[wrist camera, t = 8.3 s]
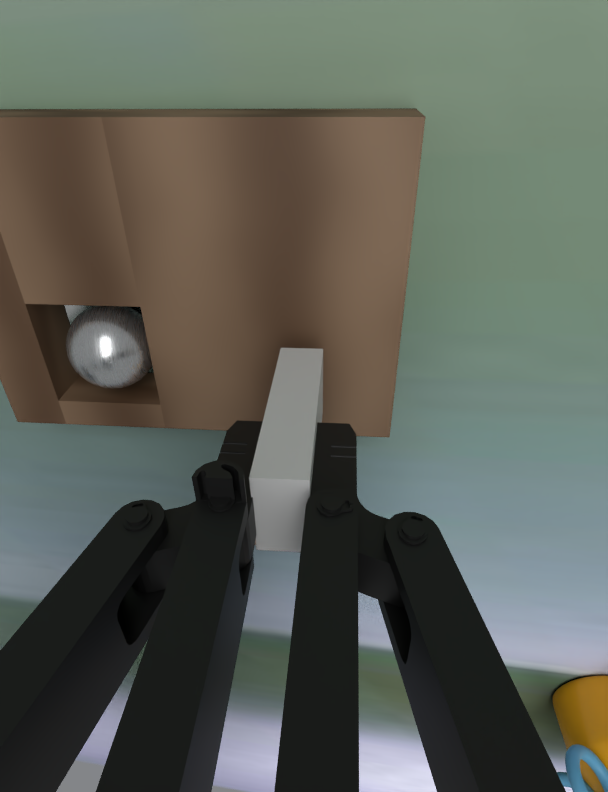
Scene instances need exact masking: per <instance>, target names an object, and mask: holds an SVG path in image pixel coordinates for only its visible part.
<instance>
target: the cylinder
mask: <svg viewBox="0 0 608 792" xmlns="http://www.w3.org/2000/svg"><path fill="white" fill-rule="evenodd" d="M553 706H554V710H555V713H556V716H557V719H558V723H559V726H560V729H561V732H562V736H563V739H564V742H565V745H566V749H567V752H566V758H565V763H566V771H567V773H566V772H557V774H558V776H559V778H560V780H561V783H562V785H563V786H565V787H571V788H572V790H573V792H608V676H590V677H584V678H580V679H576V680H573V681H570V682H568V683H566V684H564V685H562V686H561V687H559V688H558V689H557V690H556V691H555V693H554V695H553Z"/></svg>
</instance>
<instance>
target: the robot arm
mask: <svg viewBox="0 0 608 792" xmlns="http://www.w3.org/2000/svg"><path fill="white" fill-rule="evenodd" d="M322 415H323V349H313V348H281V349H280V353H279V357H278V361H277V365H276V369H275V373H274V378H273V382H272V386H271V390H270V394H269V398H268V402H267V406H266V410H265V414H264V418H263V421H239V420H237V421H236V422H235V423H234V424H233V425H232V426H231V427H230V428H229V429H228V430H227V433H226V436H225V439H224V442H223V445H222V448H221V451H220V454H219V457H218V460H217V461H213V462H210V463H207V464H204V465H203V466H201V467H200V468H199V469H197V470H196V471H195V473H194V474H193V476H192V481H193V486H194V491H195V496H196V501H195V502H193V503H191V504H189V505H186V506H182V507H178V508H173V509H169V510H164V509H163V508H162V507H161V505H160V504H159V503H156V502H154V501H152V500H139V501H134V502H131V503H129V504H127V505H125V506H123V507H122V508H121V509H119V510H118V511H117V512H116V513H115V514H114V515H113V517H112V518H111V519H110V520H109V521H108V523H107V524H106V525H105V526H104V527H103V529H102V530H101V531H100V532H99V533H98V534H97V536H96V537H95V538H94V539H93V540H92V542H91V543H90V544H89V545H88V546H87V548H86V549H85V550H84V551H83V552H82V554H81V555H80V556H79V557H78V558H77V560H76V561H75V562H74V563H73V564H72V566H71V567H70V568H69V569H68V570H67V572H66V573H65V574H64V575H63V576H62V578H61V579H60V580H59V581H58V582H57V584H56V585H55V586H54V587H53V588H52V590H51V591H50V592H49V593H48V594H47V596H46V597H45V598H44V599H43V600H42V602H41V603H40V604H39V605H38V606H37V607H36V609H35V610H34V611H33V612H32V613H31V615H30V616H29V617H28V618H27V619H26V621H25V622H24V623H23V624H22V625H21V627H20V628H19V629H18V630H17V631H16V633H15V634H14V635H13V636H12V637H11V639H10V640H9V641H8V642H7V643H6V645H5V646H4V647H3V648H2V649H1V651H0V792H56V791H57V789H58V787H59V786H60V784H61V782H62V781H63V779H64V777H65V776H66V774H67V772H68V770H69V769H70V767H71V766H72V764H73V762H74V761H75V759H76V757H77V756H78V754H79V753H80V751H81V749H82V748H83V746H84V744H85V743H86V741H87V739H88V738H89V736H90V734H91V733H92V731H93V729H94V728H95V726H96V724H97V723H98V721H99V719H100V718H101V716H102V714H103V713H104V711H105V709H106V708H107V706H108V704H109V703H110V701H111V700H112V698H113V696H114V695H115V693H116V691H117V690H118V688H119V686H120V685H121V683H122V681H123V680H124V678H125V676H126V675H127V673H128V671H129V670H130V668H131V666H132V665H133V663H134V661H135V660H136V658H137V656H138V655H139V653H140V652H141V650H142V648H143V647H144V645H145V643H146V642H147V640H148V642H147V645H146V648H145V650H144V653H143V656H142V659H141V662H140V665H139V668H138V671H137V674H136V677H135V679H134V682H133V685H132V688H131V691H130V694H129V697H128V700H127V703H126V706H125V709H124V711H123V714H122V717H121V720H120V723H119V726H118V729H117V732H116V735H115V738H114V740H113V743H112V746H111V749H110V752H109V755H108V758H107V761H106V764H105V767H104V769H103V772H102V775H101V778H100V781H99V784H98V787H97V790H96V792H211V790H212V785H213V780H214V775H215V769H216V764H217V759H218V753H219V748H220V743H221V738H222V732H223V727H224V722H225V717H226V711H227V706H228V701H229V695H230V690H231V685H232V680H233V674H234V669H235V664H236V659H237V653H238V648H239V643H240V637H241V632H242V627H243V622H244V616H245V611H246V606H247V601H248V595H249V590H250V585H251V579H252V574H253V569H254V560H253V550H254V545H255V540H256V549H257V550H268V551H286V552H301V554H300V563H299V572H298V582H297V591H296V600H295V609H294V618H293V627H292V636H291V646H290V655H289V664H288V673H287V682H286V691H285V700H284V710H283V719H282V728H281V737H280V746H279V755H278V765H277V774H276V783H275V792H359V707H358V592H360V593H363V594H365V595H368V596H371V597H373V598H376V599H378V601H379V605H380V608H381V611H382V615H383V618H384V621H385V624H386V628H387V631H388V634H389V637H390V641H391V644H392V647H393V650H394V653H395V657H396V660H397V663H398V666H399V670H400V673H401V676H402V679H403V683H404V686H405V689H406V692H407V696H408V699H409V702H410V705H411V708H412V712H413V715H414V718H415V721H416V725H417V728H418V731H419V734H420V738H421V741H422V744H423V747H424V751H425V754H426V757H427V760H428V763H429V767H430V770H431V773H432V776H433V780H434V783H435V786H436V789H437V792H566V791H565V789H564V787H563V785H562V783H561V780H560V778H559V776H558V774H557V772H556V770H555V768H554V766H553V764H552V762H551V760H550V758H549V756H548V754H547V751H546V749H545V747H544V745H543V743H542V741H541V739H540V737H539V735H538V733H537V731H536V729H535V727H534V725H533V722H532V720H531V718H530V716H529V714H528V712H527V710H526V708H525V706H524V704H523V702H522V700H521V698H520V696H519V693H518V691H517V689H516V687H515V685H514V683H513V681H512V679H511V677H510V675H509V673H508V671H507V669H506V667H505V664H504V662H503V660H502V658H501V656H500V654H499V652H498V650H497V648H496V646H495V644H494V642H493V640H492V637H491V635H490V633H489V631H488V629H487V627H486V625H485V623H484V621H483V619H482V617H481V615H480V613H479V611H478V608H477V606H476V604H475V602H474V600H473V598H472V596H471V594H470V592H469V590H468V588H467V586H466V584H465V582H464V579H463V577H462V575H461V573H460V571H459V569H458V567H457V565H456V563H455V561H454V559H453V557H452V555H451V553H450V550H449V548H448V546H447V544H446V542H445V540H444V538H443V536H442V534H441V532H440V530H439V528H438V527H437V525H436V524H435V523H434V521H432V520H431V519H429V518H428V517H426V516H425V515H422V514H418V513H415V512H403V513H399V514H396V515H394V516H393V517H392V518H390V519H386V518H383V517H380V516H378V515H375V514H373V513H371V512H369V511H368V510H367V509H365V508H364V507H363V506H362V505H361V503H360V502H359V500H358V497H357V466H356V433H355V432H354V430H353V428H352V427H351V425H350V424H347V423H322ZM148 638H149V639H148Z"/></svg>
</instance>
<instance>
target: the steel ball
mask: <svg viewBox="0 0 608 792" xmlns="http://www.w3.org/2000/svg"><path fill="white" fill-rule="evenodd" d="M66 351H67V355H68V358H69V361H70V363H71V365H72V366H73V368H74V369H75V371H76V372H77V373H78V374H79V375H80V376H81V377H82V378H84V379H85V380H86V381H88V382H90V383H92V384H94V385H96V386H100V387H104V388H122V387H126V386H129V385H132V384H134V383H136V382H137V381H139V380H140V379H142V378H143V377H144V376H145V375H146V374H147V373H148V371H149V370H150V369H151V367H152V361H151V356H150V351H149V346H148V341H147V337H146V332H145V327H144V322H143V317H142V315H141V314H140V313H138V312H137V311H135V310H134V309H132V308H130V307H127V306H92V307H90V308H88V309H86V310H84V311H83V312H82V313H81V314H79V315H78V316H77V317H76V318H75V320H74V321H73V322H72V324H71V326H70V328H69V330H68V333H67V338H66Z"/></svg>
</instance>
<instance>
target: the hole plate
mask: <svg viewBox="0 0 608 792" xmlns="http://www.w3.org/2000/svg"><path fill="white" fill-rule="evenodd" d="M424 124H425V116H424V115H423V114H421V113H420V112H419V111H418V110H417V109H0V380H1V382H2V385H3V387H4V390H5V392H6V394H7V397H8V399H9V402H10V404H11V407H12V409H13V411H14V414H15V416H16V419H17V421H18V422H33V423H58V424H82V425H106V426H130V427H154V428H178V429H202V430H226V431H227V430H228V429H229V428H230V427H231V426H232V425H233V424H234V423H235V422H236V421H237V420H239V421H263V418H264V414H265V410H266V406H267V402H268V398H269V394H270V390H271V386H272V382H273V378H274V373H275V369H276V365H277V361H278V357H279V353H280V349H281V348H313V349H323V415H322V423H347V424H350V425H351V427H352V428H353V430H354V432H355V433H356V436H371V437H389V436H390V427H391V418H392V410H393V401H394V392H395V383H396V374H397V365H398V356H399V347H400V338H401V329H402V320H403V311H404V302H405V294H406V285H407V276H408V267H409V258H410V249H411V240H412V231H413V222H414V213H415V204H416V195H417V186H418V177H419V169H420V160H421V151H422V142H423V133H424ZM64 305H90V306H130V307H141V312H142V317H143V322H144V327H145V332H146V337H147V341H148V346H149V351H150V356H151V361H152V366H153V371H154V373H147V374H146V375H145V376H144V377H143V378H142V379H140V380H139V381H137V382H136V383H134V384H132V385H129V386H126V387H122V388H104V387H100V386H96V385H94V384H92V383H90V382H88V381H86V380H85V379H84V378H82V377H81V376H80V375H79V374H78V373H77V372H76V371H75V369H74V368H73V366H72V365H71V363H70V361H69V358H68V355H67V351H66V338H67V333H68V330H69V328H70V323H69V320H68V316H67V313H66V310H65V306H64Z"/></svg>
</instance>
